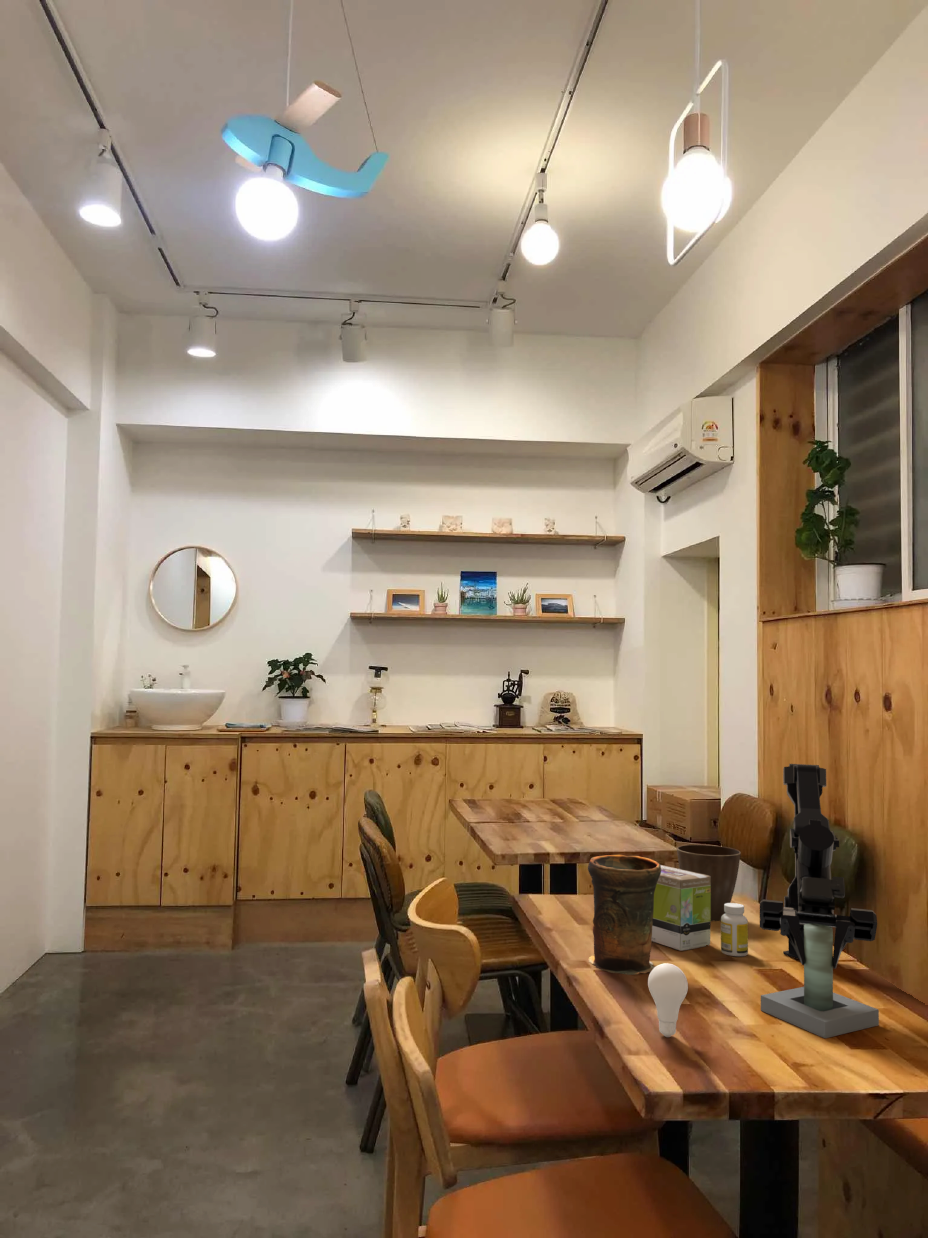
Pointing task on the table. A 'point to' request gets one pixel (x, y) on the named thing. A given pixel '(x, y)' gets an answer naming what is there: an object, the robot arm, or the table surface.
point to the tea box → (682, 909)
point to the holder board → (820, 1013)
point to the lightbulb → (667, 995)
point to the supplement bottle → (734, 930)
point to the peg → (818, 966)
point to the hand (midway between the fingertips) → (818, 965)
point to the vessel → (623, 912)
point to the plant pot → (713, 871)
